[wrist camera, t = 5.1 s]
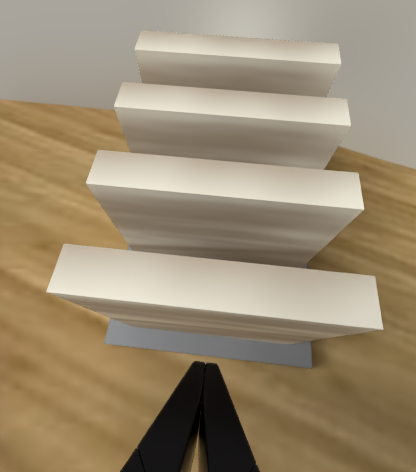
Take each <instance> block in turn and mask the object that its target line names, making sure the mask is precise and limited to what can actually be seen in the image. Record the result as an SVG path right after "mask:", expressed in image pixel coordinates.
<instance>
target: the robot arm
mask: <svg viewBox="0 0 416 472" xmlns="http://www.w3.org/2000/svg"><path fill="white" fill-rule="evenodd" d="M204 374H205V375H204ZM202 393H203V394H202ZM201 403H202V404H201ZM200 413H201V414H200ZM199 423H200V424H199ZM198 431H199V441H198V460H199V472H260V471H259V468H258V466H257V465H256V461H255V459H254V456H253V453H252V451H251V448H250V446H249V443H248V441H247V438H246V436H245V433H244V430H243V428H242V425H241V423H240V420H239V418H238V415H237V412H236V410H235V407H234V405H233V402H232V400H231V397H230V395H229V392H228V389H227V387H226V384H225V382H224V379H223V377H222V374H221V372H220V369H219V366H218V365H217V364H215V363H206V365H205V363H204V362H199V361H194V362H193V363H192V365H191V366H190V368H189V369H188V371H187V372H186V374H185V375H184V377H183V378H182V380H181V381H180V383H179V384H178V386H177V387H176V389H175V390H174V392H173V393H172V395H171V396H170V398H169V399H168V401H167V402H166V404H165V405H164V407H163V408H162V410H161V411H160V413H159V414H158V416H157V417H156V419H155V420H154V422H153V423H152V425H151V426H150V428H149V429H148V431H147V432H146V434H145V435H144V437H143V438H142V440H141V441H140V443H139V444H138V446H137V448H136V449H135V450H134V452H133V453H132V455H131V456H130V458H129V459H128V461H127V462H126V464H125V465H124V466H123V468H122V469H121V471H120V472H190V471H191V467H192V462H193V457H194V452H195V448H196V443H197V437H198Z"/></svg>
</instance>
